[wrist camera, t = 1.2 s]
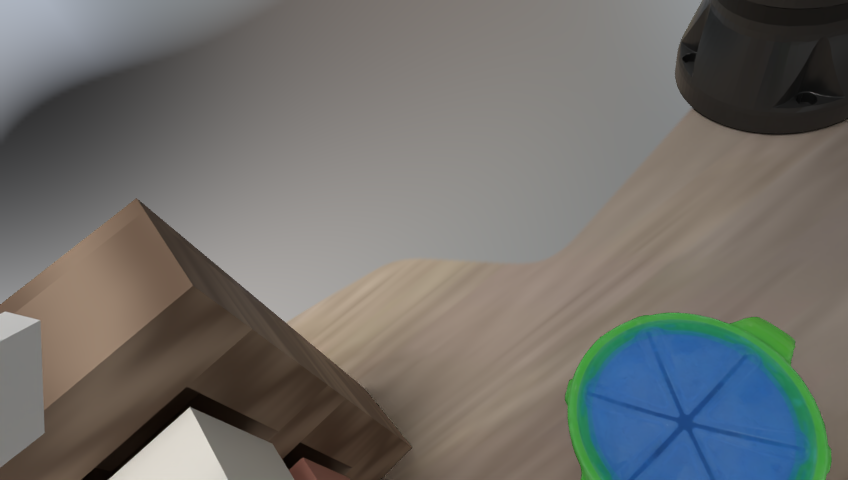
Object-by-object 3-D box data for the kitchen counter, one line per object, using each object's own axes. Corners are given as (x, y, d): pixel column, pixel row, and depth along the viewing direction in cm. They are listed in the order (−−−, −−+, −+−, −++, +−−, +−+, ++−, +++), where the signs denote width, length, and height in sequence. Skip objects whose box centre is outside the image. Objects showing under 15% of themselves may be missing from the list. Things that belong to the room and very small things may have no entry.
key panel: (363, 387, 40) (136, 198, 21) (412, 447, 36) (192, 285, 17) (215, 528, 37) (-199, 459, 18) (252, 607, 34) (-211, 623, 15)
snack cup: (693, 322, 36) (717, 243, 28) (849, 456, 29) (940, 403, 21) (511, 468, 34) (480, 429, 26) (636, 643, 28) (646, 663, 20)
